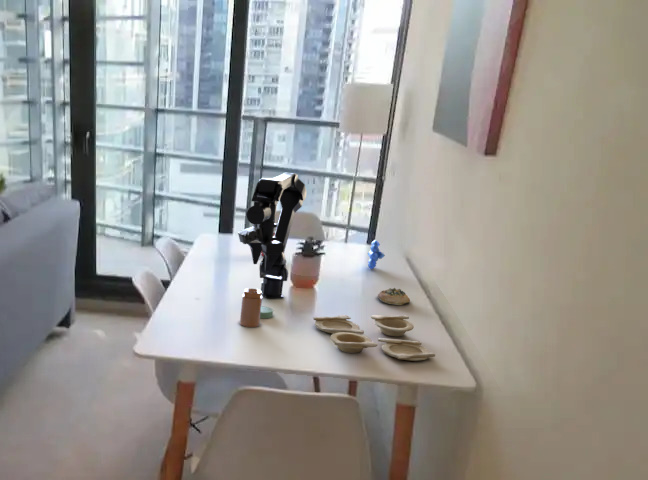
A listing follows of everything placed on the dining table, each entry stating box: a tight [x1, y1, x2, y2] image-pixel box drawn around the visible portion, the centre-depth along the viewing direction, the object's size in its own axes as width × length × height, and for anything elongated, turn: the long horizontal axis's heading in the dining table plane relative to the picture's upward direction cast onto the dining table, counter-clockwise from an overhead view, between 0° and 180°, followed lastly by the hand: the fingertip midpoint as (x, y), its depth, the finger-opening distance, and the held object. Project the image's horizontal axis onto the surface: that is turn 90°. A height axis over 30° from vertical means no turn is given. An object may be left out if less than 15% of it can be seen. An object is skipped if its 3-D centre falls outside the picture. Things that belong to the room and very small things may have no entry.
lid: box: [260, 305, 274, 319], centre depth 230 cm, size 7×7×2 cm
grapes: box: [367, 239, 386, 270], centre depth 289 cm, size 12×7×12 cm, turn 160°
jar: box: [239, 288, 263, 328], centre depth 219 cm, size 6×6×11 cm
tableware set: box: [312, 314, 436, 362], centre depth 211 cm, size 35×29×4 cm
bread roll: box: [377, 287, 411, 306], centre depth 250 cm, size 11×11×5 cm
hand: (260, 267), depth 234 cm, fingers open, 9 cm apart
